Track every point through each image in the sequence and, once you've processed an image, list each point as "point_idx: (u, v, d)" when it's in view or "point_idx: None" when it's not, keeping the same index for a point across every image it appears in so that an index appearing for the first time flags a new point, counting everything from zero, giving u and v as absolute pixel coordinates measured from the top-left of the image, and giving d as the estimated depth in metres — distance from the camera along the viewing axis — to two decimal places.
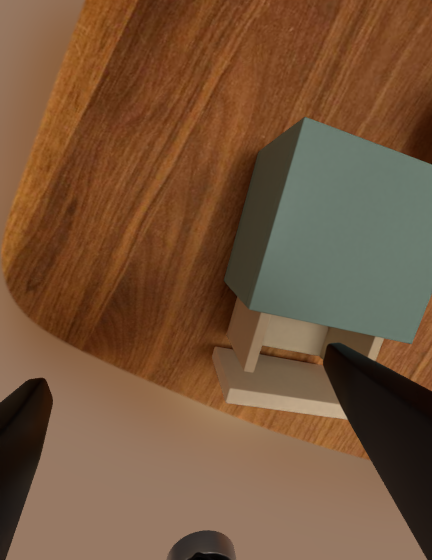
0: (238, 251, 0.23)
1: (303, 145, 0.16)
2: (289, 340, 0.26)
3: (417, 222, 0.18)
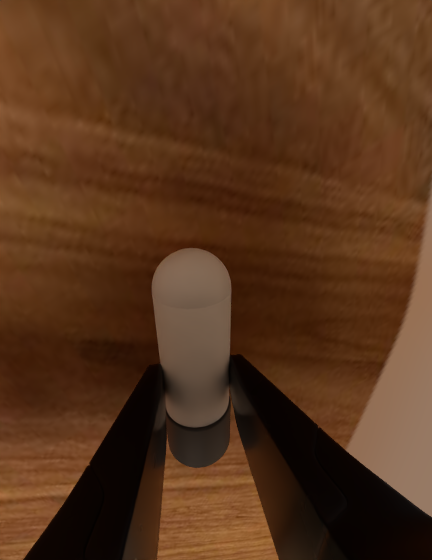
0: None
1: None
2: None
3: None
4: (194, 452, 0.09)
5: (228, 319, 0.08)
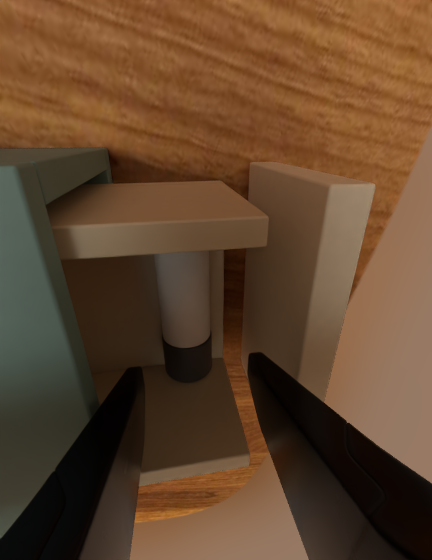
0: None
1: None
2: None
3: None
4: (184, 369, 0.13)
5: (206, 264, 0.11)
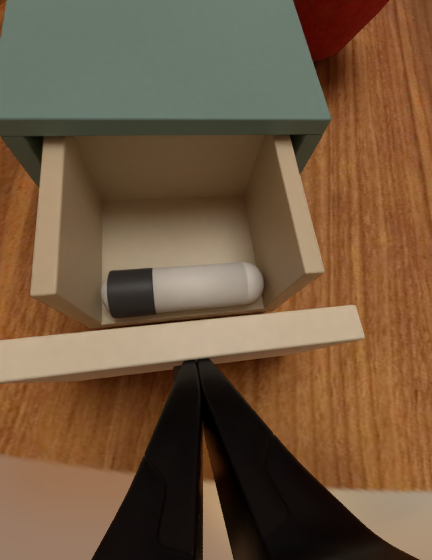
0: None
1: None
2: None
3: None
4: (127, 297, 0.13)
5: None
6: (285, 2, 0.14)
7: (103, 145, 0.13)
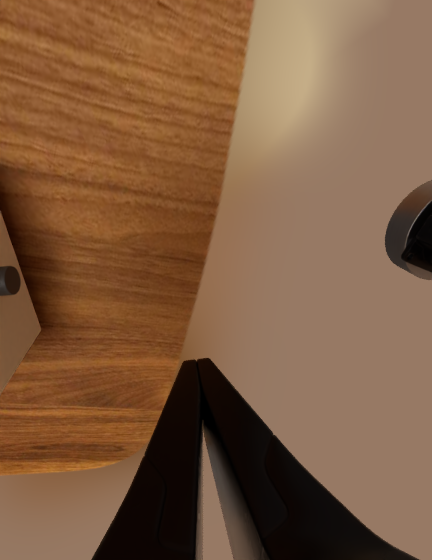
0: None
1: None
2: None
3: None
4: None
5: None
6: None
7: None
